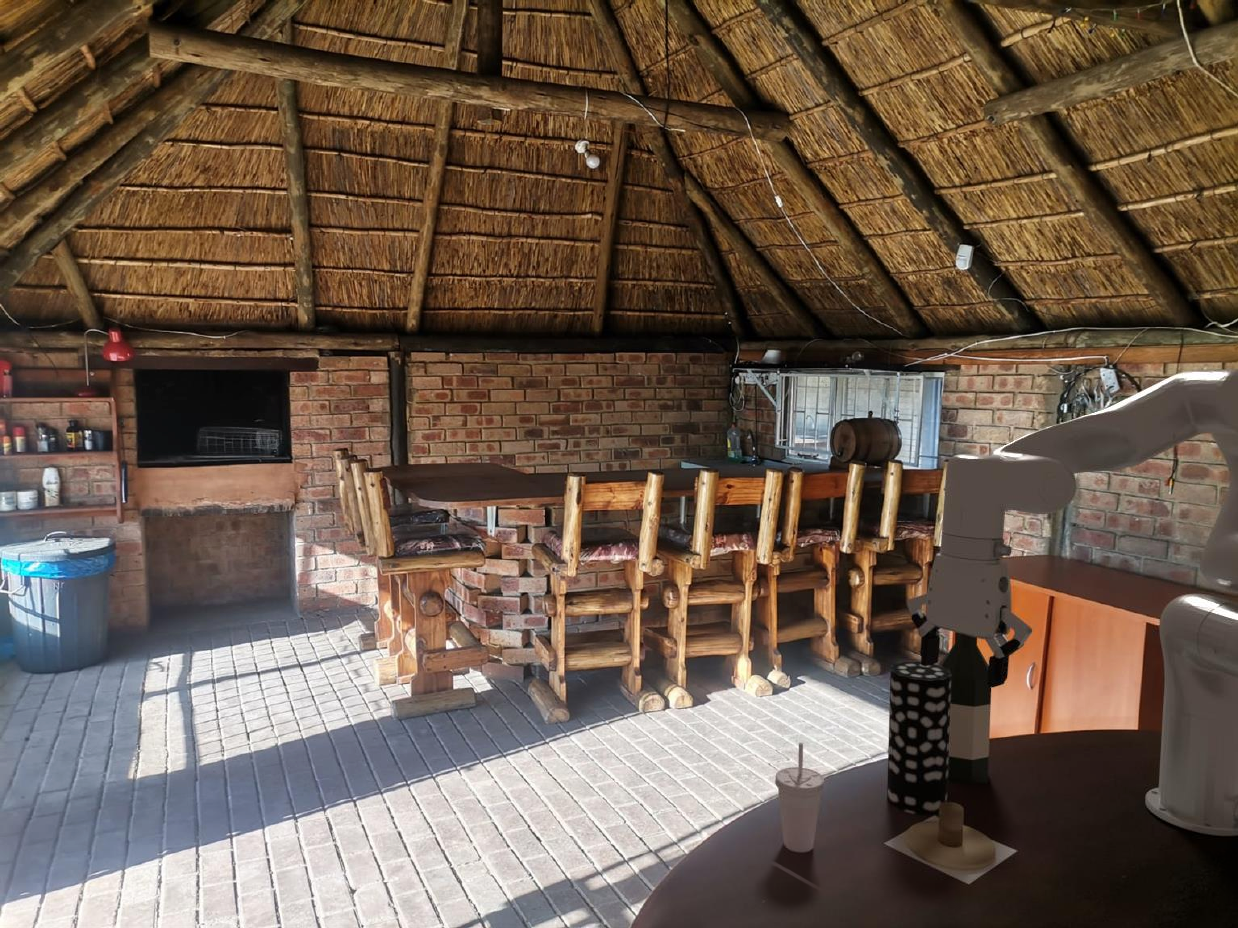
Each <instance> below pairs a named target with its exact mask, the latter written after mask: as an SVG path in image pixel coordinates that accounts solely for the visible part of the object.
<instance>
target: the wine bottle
mask: <svg viewBox="0 0 1238 928" xmlns="http://www.w3.org/2000/svg"><path fill="white" fill-rule="evenodd" d="M954 633H955V635H954V644H953V645H952V647H951V648H950V649H949V650H948V652H947V654H946V655H945V657H944V658H942V660H941V662H940V663H939V666H942V667H944V668H946V669H948V670H949V671H950V672H951V702H950V732H949V762H948V781H951V782H957V783H963V784H969V785H975V784H981V785H983V784H987V782H988V783H989V760H990V759H989V758H990V757H989V755H990V754H989V753H990V733H991V731H990V729H991V706H992V687H989V686H988V685H987V680H988V667H989V663H988V662H987V660H986V658H985V656H984V655H983V653H982V652H981V650H980V648H979V646H978V638H976V637H972V636H968V635H964V634H960V633H957V632H954Z"/></svg>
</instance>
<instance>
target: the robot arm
mask: <svg viewBox="0 0 1238 928" xmlns="http://www.w3.org/2000/svg"><path fill="white" fill-rule="evenodd" d="M1202 434H1203V435H1204V434H1212V437H1213V440H1214V442H1215V444H1216V446H1217V448H1218V449H1219V451H1220V453H1221V455H1222V456H1223V458H1224V462H1225V464H1226V467H1227V471H1228V478H1229V479H1228V480H1229V484H1228V490H1227V493H1226V494H1225V495H1226V496H1225V498H1224V501H1223V503H1222V505H1221V509H1219V510H1220V511H1219V513H1218V515H1217V518H1216V519H1215V522H1214V525H1213V527H1212V529H1211V531H1210V534H1209V536H1208V538H1207V540H1206V543H1205V545H1204V548H1203V549H1202V554H1201V555H1200V562H1199V568H1200V571H1201V574H1202V576H1203V577H1204V578H1205V580H1206V581H1208V582H1209V583H1211V584H1212V585H1214V586H1216V587H1218V588H1220V589H1223V590H1226V591H1229V592H1232V593H1236V594H1238V369H1237V368H1235V369H1234V368H1231V369H1230V368H1228V369H1219V368H1218V369H1193V370H1187V371H1182V372H1179V373H1175V374H1174V375H1171V376H1170V377H1168V378H1165V379H1163V380H1160V381H1159V382H1157V383H1155V384H1153V385H1150V386H1149V387H1147V388H1145V389H1143V390H1141V391H1139V392H1137V393H1135V394H1132V395H1131V396H1129V397H1127V398H1125V399H1123V400H1121V401H1119V402H1116V403H1115V404H1112V405H1111V406H1109V407H1106V408H1104V409H1102V410H1098V411H1096V412H1094V413H1093V412H1092V413H1089V414H1086V415H1082V416H1079V417H1076V418H1073V419H1071V420H1067V421H1063V422H1062V423H1057V424H1053V425H1052V426H1048V427H1045V428H1042V429H1039V430H1036V431H1034V432H1030V433H1029V434H1025V435H1024V436H1022V437H1020V438H1018V439H1015V440H1014V441H1012V442H1010V443H1008V444H1006V445H1003V446H1002V447H999V448H997V449H996V450H994V451H992V452H991V453H989V454H988V455H986V454H969V453H965V454H964V453H963V454H961V453H960V454H956V455H955V454H954V455H952V456H951V457H950V458H949V459H948V461H947V463H946V469H945V470H946V471H945V483H944V497H943V509H942V523H941V525H942V526H941V538H940V539H941V540H940V551H939V553H936V555H935V558H934V561H933V564H932V568H931V573H930V575H929V580H928V587H927V593H925V594H922V595H919V596H915V597H912V598H909V599H907V601H906V604H907V608H908V611H909V614H910V615H911V621H912V623H913V624H914V626H915V627H916V628H917V634H918V636H919V637H921V639H920V641H921V642H920V652H919V656H920V662H921V665H922V666H929V665H932V664H935V665H937V663H939V656H940V641H941V640H940V639H941V636H940V634H937V633H938V632H939V630H941V629H943V630H947V631H950V632H953V633H955V632H957V633H960V634H964V635H968V636H972V637H976V638H977V639H981V640H985V642H986V644H987V645H988V647H989V648H990V650H991V652H992V653H993V655H991V656H989V658H988V665H989V667H988V680H987V685H988V686H989V687H991V688H997V687H999V686H1002V685H1004V684H1005V682H1006V681H1007V680H1008V677H1009V676H1008V674H1009V662H1010V656H1012V655H1013V654H1015V653H1016V652H1017V651H1019V650H1020V649H1021V648H1023V646H1024V645H1025V642H1027V640H1028V639H1029V637H1030V635H1031V634H1032V633H1033V629H1032V627H1031V626H1030V625H1028V624H1027V623H1026V622H1024V621H1023V619H1021V618H1020V617H1018V616H1017V615H1016V614H1015V613H1013V612H1012V586H1011V585H1012V583H1011V574H1010V570H1009V569H1010V568H1009V565H1008V564H1009V563H1008V562H1006V561H1002V559H1003V557H1010V556H1011V554H1012V553H1013V551H1012V550H1013V549H1012V546H1010V545H1006V544H1005V538H1004V533H1005V532H1004V531H1005V519H1006V518H1005V517H1006V511H1016V512H1024V513H1029V514H1034V515H1050V514H1054V513H1057V512H1059V511H1062V510H1064V509H1065V508H1066V507H1068V506H1069V505H1070V503H1072V501H1073V499H1074V497H1075V496H1076V493H1077V487H1078V486H1077V479H1076V477H1075V474H1080V473H1090V472H1091V473H1092V472H1105V471H1107V472H1109V471H1114V470H1121V469H1127V468H1132V467H1135V466H1139V465H1141V464H1143V463H1145V462H1146V461H1149V460H1151V459H1152V458H1154V457H1156V456H1159V455H1160V454H1162V453H1164V452H1166V451H1168V450H1170V449H1172V448H1174V447H1177V446H1178V445H1180V444H1182V443H1185V442H1186V441H1188V440H1191V439H1192V438H1194V437H1196V436H1199V435H1202ZM924 605H925V613H924V612H923V608H922V607H923V606H924ZM1158 628H1159V639H1160V644H1161V650H1162V656H1163V666H1164V667H1163V668H1164V687H1163V688H1164V691H1163V692H1164V693H1163V707H1162V708H1163V709H1162V726H1161V742H1160V744H1161V745H1160V759H1159V779H1158V781H1159V782H1158V787H1154V788H1152V789H1150V790H1149V791H1148V792H1146V794H1145V805H1146V808H1147V809H1148V810H1149V811H1150V812H1151V813H1152V814H1153V815H1155V816H1156V817H1158V818H1159V819H1161V820H1162V821H1165V822H1166V823H1169V824H1172V825H1173V826H1175V827H1176V826H1177V827H1179V828H1182V829H1185V830H1188V831H1191V832H1195V833H1199V834H1204V835H1209V836H1220V837H1234V836H1238V602H1235V601H1232V600H1228V599H1224V598H1221V597H1217V596H1214V595H1209V594H1202V593H1189V594H1187V593H1186V594H1183V595H1180V596H1177V597H1175V598H1174V599H1172V600H1171V601H1170V602H1169V603H1168V604H1167V605H1166V606H1165V607H1164V609H1163V611H1162V613H1161V615H1160V620H1159V627H1158ZM1011 629H1012V630H1013V632H1014V634H1013V636H1012V638H1011V639H1010V640H1008V638H1007V636H1006V635H1008V634H1009V633H1010V631H1011Z"/></svg>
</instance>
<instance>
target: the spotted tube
mask: <svg viewBox="0 0 1238 928" xmlns="http://www.w3.org/2000/svg"><path fill="white" fill-rule="evenodd" d="M939 665H940V664H939ZM939 665H938V664H932V665H929V666H922V665H921V661H902V662H901V661H900V662H896V663H894V664H891V666H890V676H889V677H890V678H889V709H888V710H889V712H888V713H889V716H888V717H889V718H888V747H887V748H888V749H887V750H888V751H887V785H886V786H887V787H886V798H887V799H886V800H887V801H888V802H889V803H890V805H891V806H893V807H894V808H897V809H898V810H899V811H903V812H906V813H908V814H909V813H910V814H914V815H919V816H920V815H921V816H931V815H933V816H935V815H939V805H940V803H942V802H948V788H949V787H948V786H949V785H948V783H949V780H948V762H949V732H950V702H951V672H950V671H949V670H948V669H946V668H944V667H942V666H939Z"/></svg>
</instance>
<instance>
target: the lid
mask: <svg viewBox="0 0 1238 928" xmlns="http://www.w3.org/2000/svg"><path fill="white" fill-rule="evenodd" d="M964 811H965V809H964V807H963V806H962V805H961V804H959V803H957V802H951V801H947V802H942V803H940V805H939V814H938V817H939V821H925V820H924V822H923V821H921V822H917V823H915V824H913V825H911V826H910V827H909V828H908V829H907V830H908V831H907V830H906V831H907V833H906V843H907V845H908V847H909V849H910V850H911V851H912V852H913V853H914V854H915V855H917V856H918V857H920V858H921V859H923V860H925V861H927V862H929V863H931V864H934V865H937V866H940V867H944V868H948V869H954V870H978V869H982V868H985V867H988V866H989V865H991V864H992V863H993V862H994V860H995V855H996V849H995V846H994V844H993V842H992V841H991V840H992V839H991V840H990V838H989V837H988V836H987V835H986V834H984V833H982V832H981V831H979V830H977V829H975V828H972V827H970V826H967V825H965V824H964V815H965V813H964Z"/></svg>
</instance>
